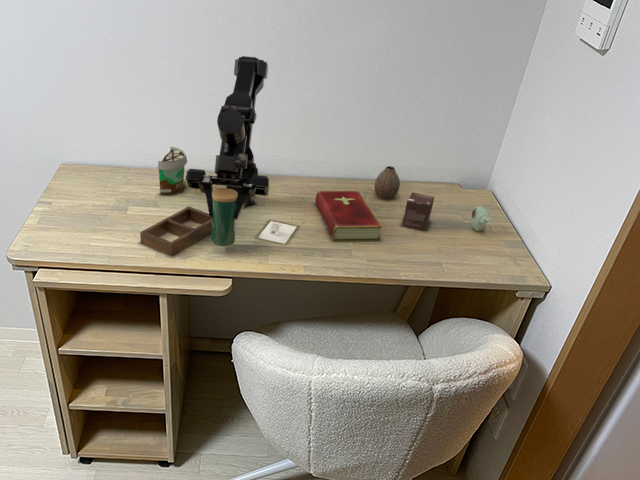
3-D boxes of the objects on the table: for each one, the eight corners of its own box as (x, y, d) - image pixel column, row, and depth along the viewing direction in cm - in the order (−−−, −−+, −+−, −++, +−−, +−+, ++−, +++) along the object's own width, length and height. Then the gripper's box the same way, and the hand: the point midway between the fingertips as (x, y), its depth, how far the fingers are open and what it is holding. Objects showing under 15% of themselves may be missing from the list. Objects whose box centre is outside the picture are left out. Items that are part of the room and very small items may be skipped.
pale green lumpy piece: (487, 238, 156) (495, 214, 153) (471, 236, 157) (478, 213, 153) (479, 223, 163) (486, 200, 159) (464, 222, 163) (471, 199, 159)
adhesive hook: (268, 234, 152) (269, 223, 151) (271, 230, 154) (272, 219, 153) (279, 237, 151) (280, 226, 150) (282, 232, 154) (284, 221, 152)
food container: (180, 199, 167) (180, 164, 161) (158, 196, 167) (157, 161, 162) (192, 182, 177) (192, 148, 171) (171, 179, 177) (171, 146, 172)
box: (429, 222, 162) (435, 196, 158) (424, 231, 158) (431, 205, 154) (406, 216, 164) (411, 191, 160) (401, 226, 160) (407, 200, 156)
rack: (188, 216, 158) (188, 206, 157) (218, 228, 154) (218, 217, 152) (140, 243, 146) (140, 232, 144) (171, 256, 141) (171, 244, 140)
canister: (217, 232, 147) (219, 185, 140) (239, 238, 145) (242, 191, 138) (206, 242, 142) (207, 195, 135) (228, 249, 140) (230, 201, 133)
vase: (400, 195, 176) (406, 167, 171) (391, 204, 171) (398, 174, 166) (377, 189, 178) (383, 161, 173) (368, 197, 174) (374, 168, 169)
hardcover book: (332, 241, 151) (334, 225, 149) (314, 203, 168) (316, 189, 166) (379, 240, 152) (382, 225, 150) (357, 203, 170) (359, 189, 167)
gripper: (187, 134, 134) (176, 201, 131) (271, 142, 133) (263, 210, 130) (194, 155, 145) (184, 217, 142) (272, 162, 144) (264, 226, 141)
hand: (223, 217), depth 139 cm, fingers closed on canister, 5 cm apart
